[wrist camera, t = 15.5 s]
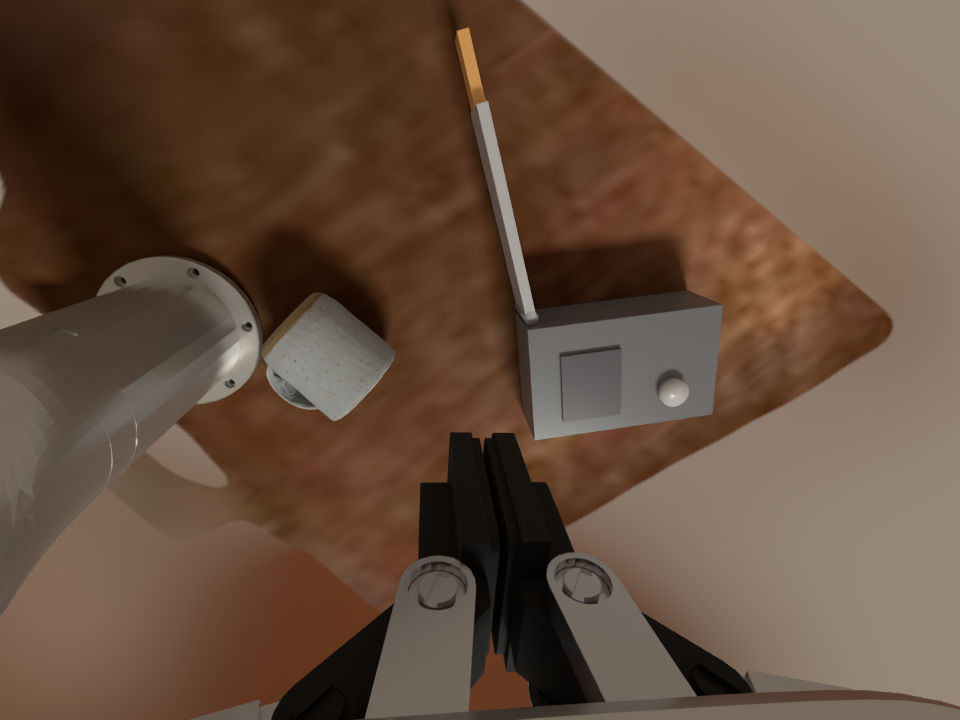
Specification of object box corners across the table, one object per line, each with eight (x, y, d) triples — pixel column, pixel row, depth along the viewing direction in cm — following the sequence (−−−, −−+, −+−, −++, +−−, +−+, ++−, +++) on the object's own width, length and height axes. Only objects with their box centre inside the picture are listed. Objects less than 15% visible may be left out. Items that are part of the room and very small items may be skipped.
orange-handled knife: (527, 308, 41) (539, 323, 36) (516, 312, 41) (526, 326, 36) (466, 42, 33) (472, 21, 29) (451, 46, 33) (455, 26, 29)
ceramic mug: (325, 276, 38) (300, 299, 31) (400, 339, 41) (394, 373, 34) (249, 363, 40) (210, 403, 33) (326, 418, 43) (304, 466, 36)
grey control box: (522, 410, 45) (536, 445, 39) (515, 312, 41) (529, 333, 35) (686, 387, 46) (724, 417, 40) (693, 289, 42) (736, 306, 36)
